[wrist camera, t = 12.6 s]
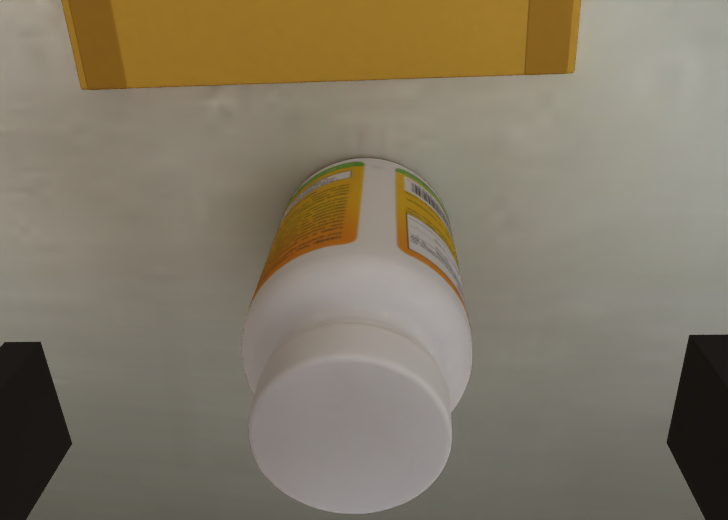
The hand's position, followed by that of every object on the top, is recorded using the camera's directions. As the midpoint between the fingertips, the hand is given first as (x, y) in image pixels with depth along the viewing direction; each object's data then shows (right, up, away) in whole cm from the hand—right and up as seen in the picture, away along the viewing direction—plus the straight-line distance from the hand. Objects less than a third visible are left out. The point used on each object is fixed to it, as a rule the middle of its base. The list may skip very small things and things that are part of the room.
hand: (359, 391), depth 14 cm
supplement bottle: (0, +4, +8) cm, 9 cm away
